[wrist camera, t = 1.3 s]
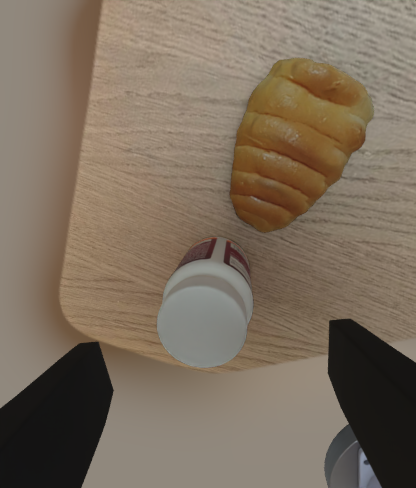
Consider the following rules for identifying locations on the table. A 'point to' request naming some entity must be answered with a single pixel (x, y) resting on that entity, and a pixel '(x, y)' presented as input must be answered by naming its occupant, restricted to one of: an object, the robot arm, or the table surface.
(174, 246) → the table surface
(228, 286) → the pill bottle
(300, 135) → the pastry
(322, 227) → the table surface
